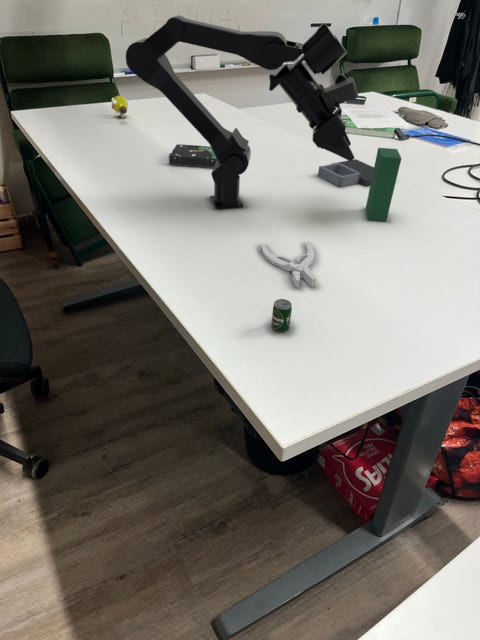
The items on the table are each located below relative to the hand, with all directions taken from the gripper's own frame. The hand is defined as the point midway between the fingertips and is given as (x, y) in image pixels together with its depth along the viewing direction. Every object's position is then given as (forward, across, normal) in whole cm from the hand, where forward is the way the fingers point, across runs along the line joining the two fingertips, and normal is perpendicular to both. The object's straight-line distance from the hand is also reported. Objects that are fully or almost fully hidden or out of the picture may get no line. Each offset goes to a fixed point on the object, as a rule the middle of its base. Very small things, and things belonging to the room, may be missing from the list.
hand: (350, 152), depth 100 cm
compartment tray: (+13, +24, +7) cm, 27 cm away
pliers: (+3, -26, +17) cm, 31 cm away
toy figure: (-41, +65, +60) cm, 97 cm away
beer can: (+1, -45, +18) cm, 48 cm away
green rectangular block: (+15, 0, +4) cm, 16 cm away
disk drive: (-17, +27, +36) cm, 48 cm away
